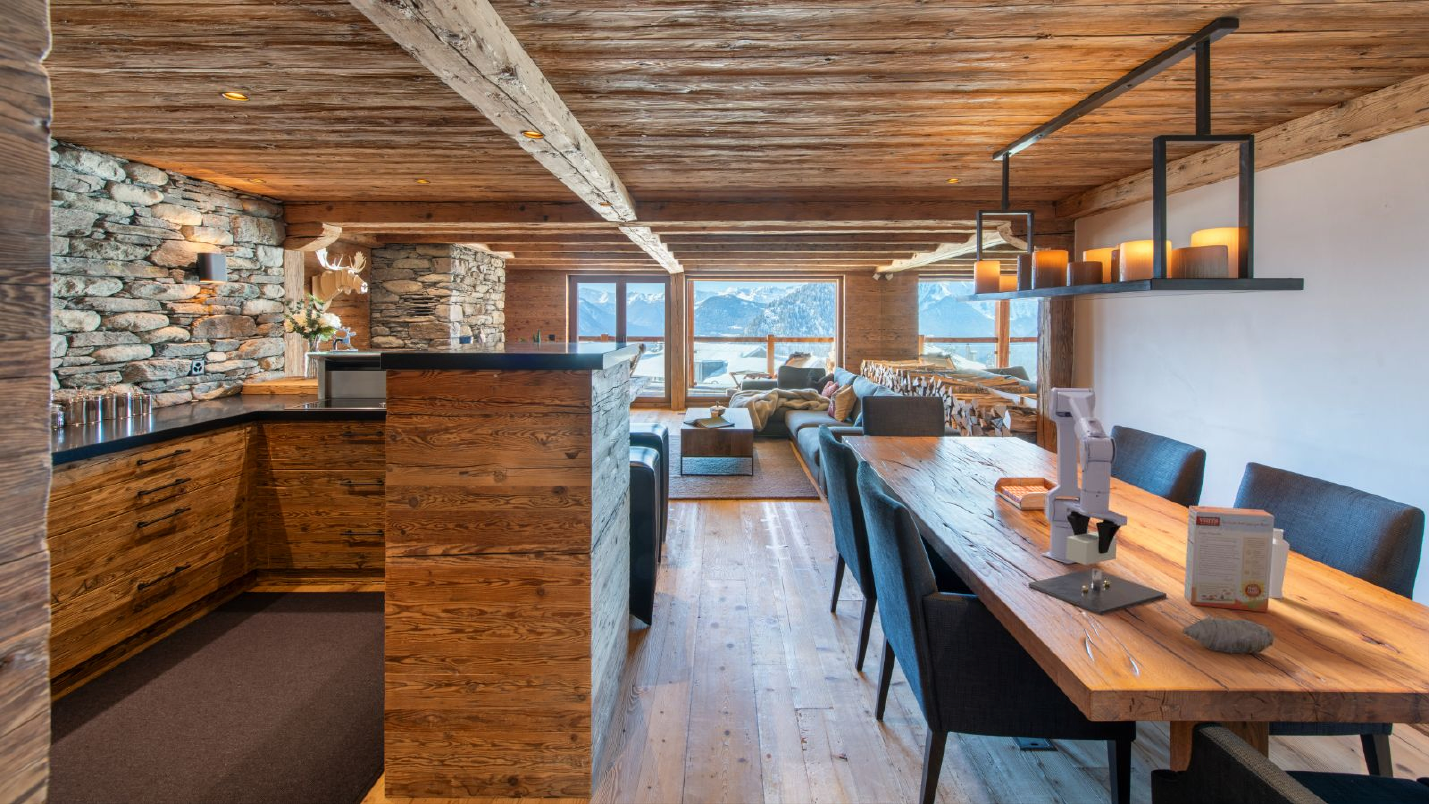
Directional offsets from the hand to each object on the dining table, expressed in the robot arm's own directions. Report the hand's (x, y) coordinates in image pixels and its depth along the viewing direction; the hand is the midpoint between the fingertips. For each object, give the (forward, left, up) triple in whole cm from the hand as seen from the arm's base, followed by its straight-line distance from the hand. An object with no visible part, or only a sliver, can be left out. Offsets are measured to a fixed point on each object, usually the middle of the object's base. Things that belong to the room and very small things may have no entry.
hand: (1091, 549), depth 160 cm
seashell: (+5, +31, -10) cm, 33 cm away
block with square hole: (0, 0, -2) cm, 2 cm away
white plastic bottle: (-33, +20, -10) cm, 40 cm away
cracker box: (-18, +18, -10) cm, 28 cm away
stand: (0, +1, -10) cm, 10 cm away
